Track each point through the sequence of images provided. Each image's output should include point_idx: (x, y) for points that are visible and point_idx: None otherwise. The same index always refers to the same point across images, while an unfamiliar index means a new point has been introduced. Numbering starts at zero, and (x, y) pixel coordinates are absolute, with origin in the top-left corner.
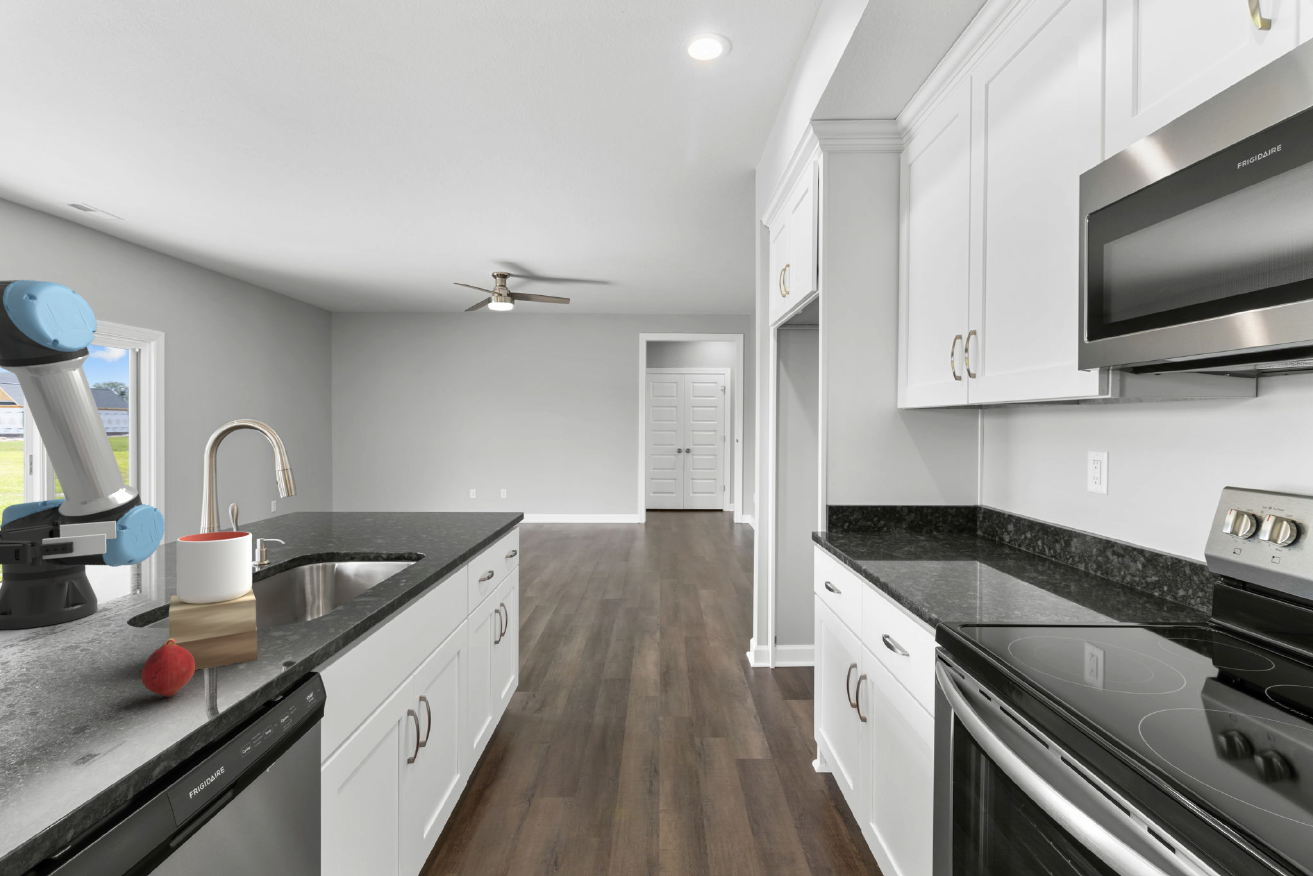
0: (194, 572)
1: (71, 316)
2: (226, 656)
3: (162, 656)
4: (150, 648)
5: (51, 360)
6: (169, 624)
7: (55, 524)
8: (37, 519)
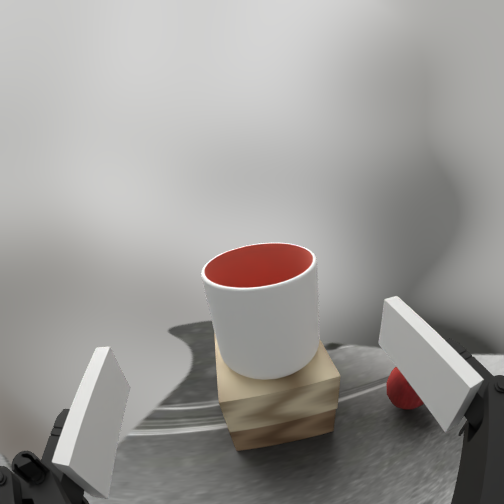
0: (317, 314)
1: None
2: None
3: None
4: (189, 479)
5: None
6: (338, 389)
7: (34, 472)
8: None
